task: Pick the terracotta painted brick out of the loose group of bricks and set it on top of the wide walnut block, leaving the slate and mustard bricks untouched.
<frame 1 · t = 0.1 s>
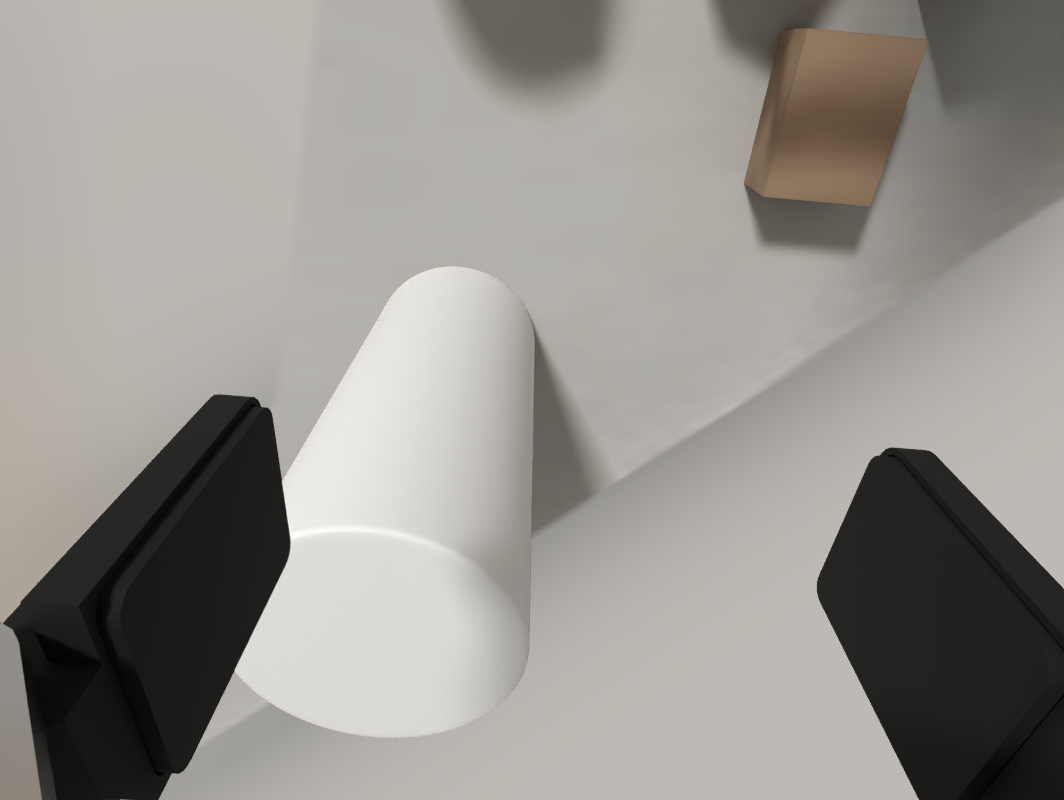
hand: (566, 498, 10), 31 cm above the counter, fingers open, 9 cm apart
tall pillar cylinder: (457, 340, 43), on the counter
walnut block: (811, 115, 36), on the counter
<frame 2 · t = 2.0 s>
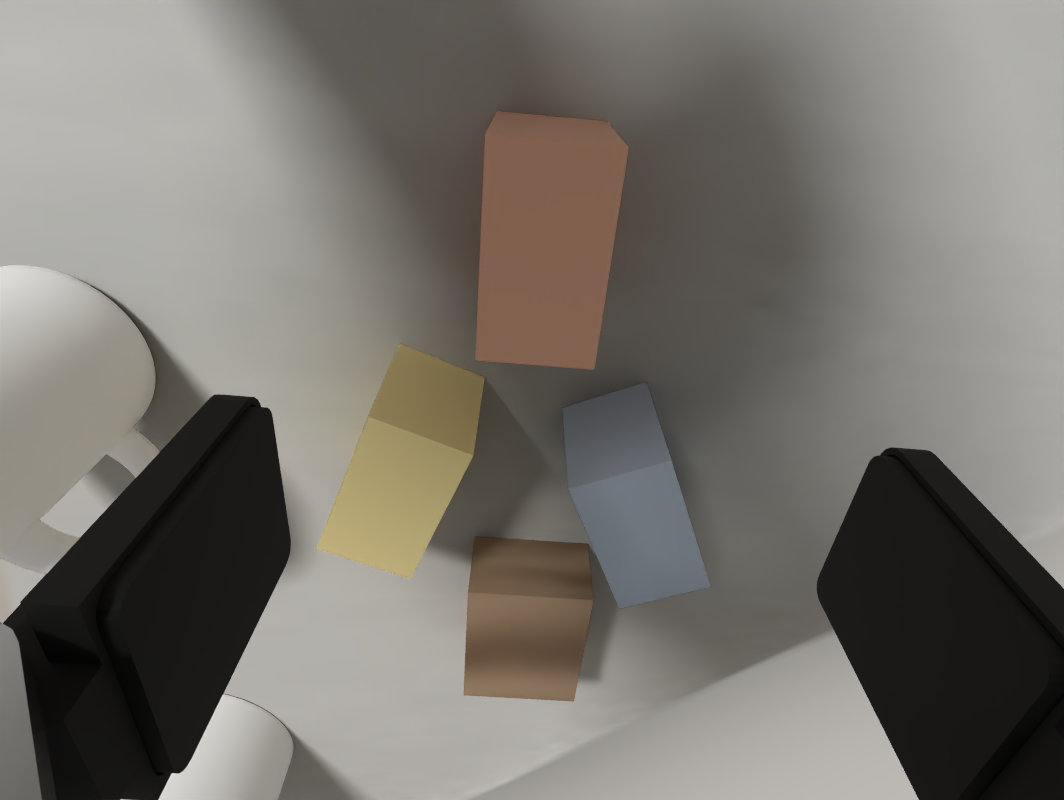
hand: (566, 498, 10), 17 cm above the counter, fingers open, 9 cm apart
mug: (106, 377, 28), on the counter
terracotta brick: (543, 214, 24), on the counter
tall pillar cylinder: (215, 735, 42), on the counter
walnut block: (525, 589, 35), on the counter
mustard brick: (416, 420, 29), on the counter
slate brick: (624, 453, 30), on the counter
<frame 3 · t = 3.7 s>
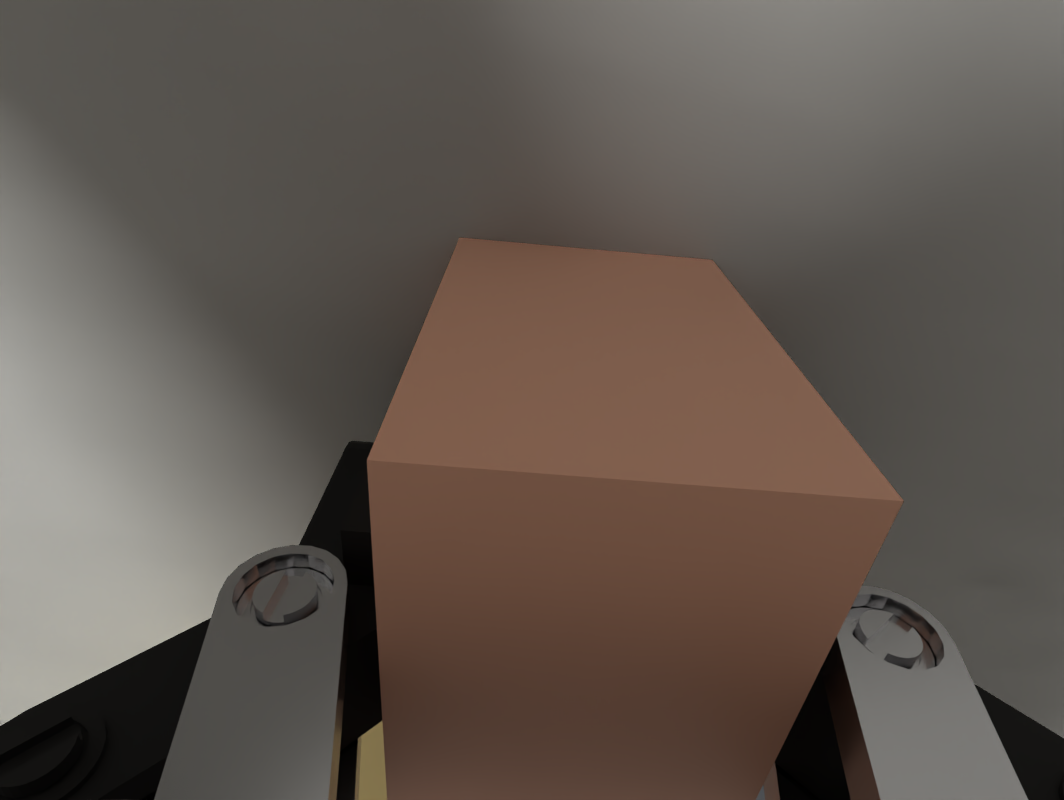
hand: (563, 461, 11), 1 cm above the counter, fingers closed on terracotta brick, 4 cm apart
terracotta brick: (562, 432, 11), on the counter, touching gripper
mustard brick: (332, 733, 16), on the counter
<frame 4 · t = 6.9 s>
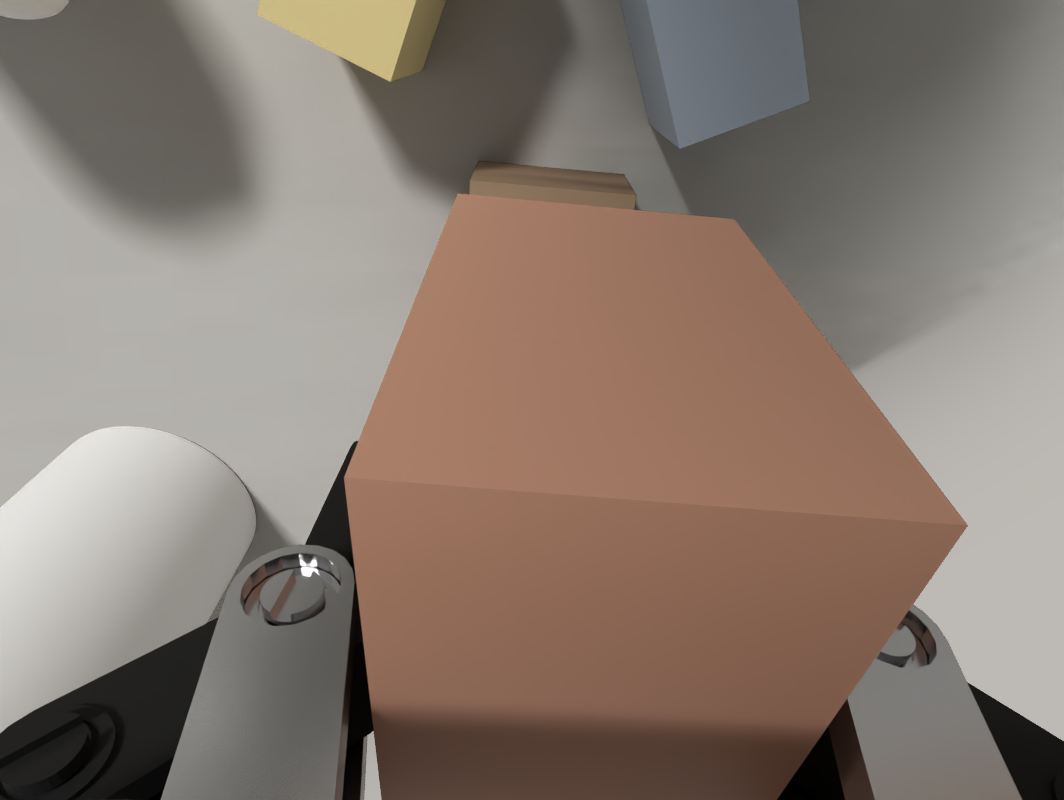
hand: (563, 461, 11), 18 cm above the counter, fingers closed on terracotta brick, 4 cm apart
terracotta brick: (568, 404, 11), point 17 cm above the counter, touching gripper
tall pillar cylinder: (161, 502, 35), on the counter
walnut block: (542, 260, 28), on the counter
slate brick: (679, 6, 22), on the counter
when the fingers open (6 cm above the counter, at t = 9.7 s): terracotta brick drops 1 cm, resting on walnut block.
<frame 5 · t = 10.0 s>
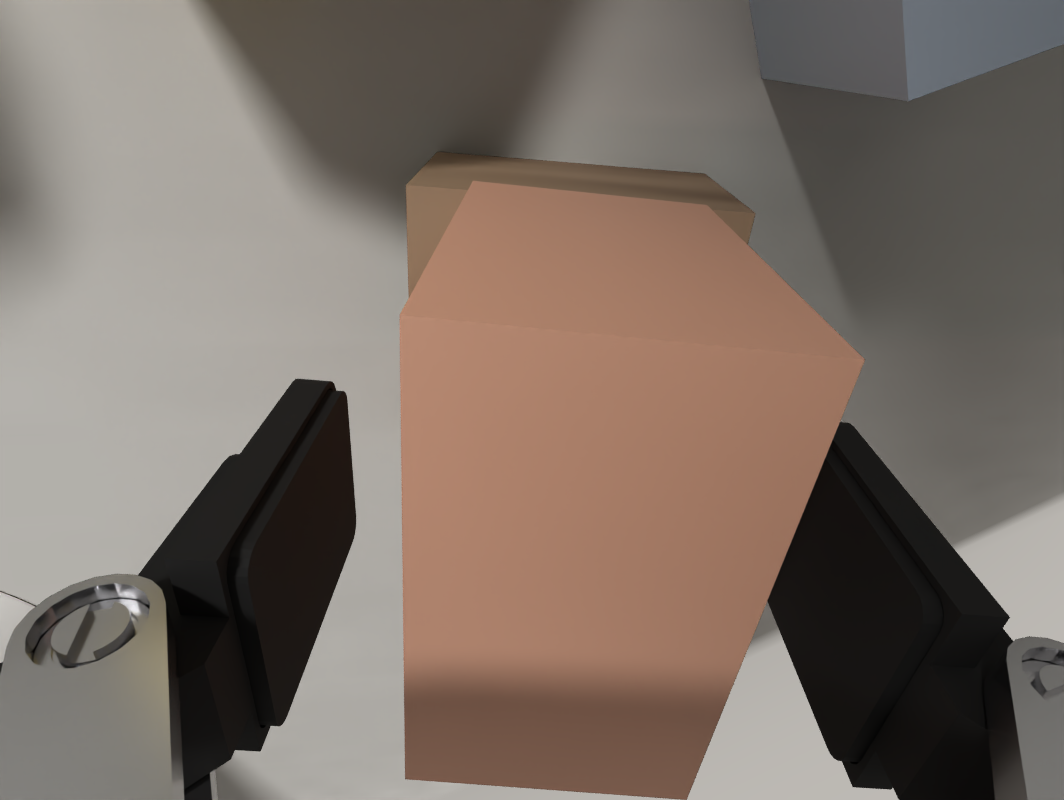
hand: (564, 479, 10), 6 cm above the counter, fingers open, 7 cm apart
terracotta brick: (565, 375, 12), point 4 cm above the counter, touching walnut block
walnut block: (554, 324, 16), on the counter, touching terracotta brick
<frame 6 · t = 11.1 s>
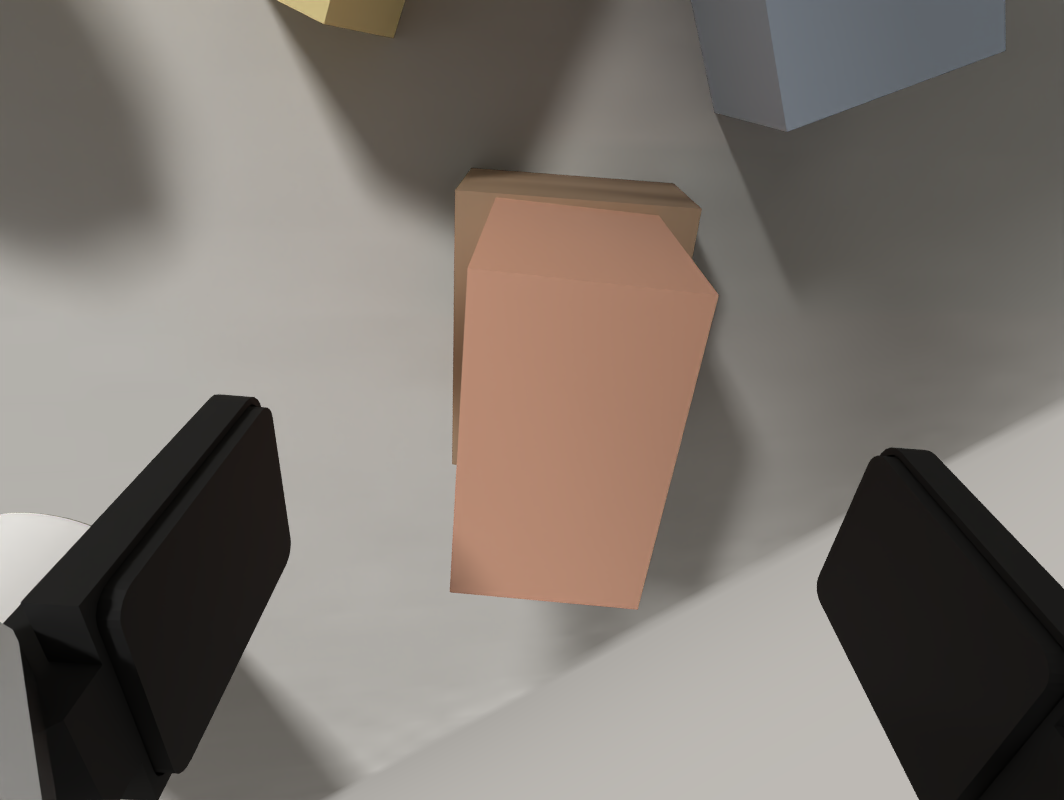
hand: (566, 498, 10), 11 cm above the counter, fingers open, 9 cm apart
terracotta brick: (559, 338, 17), point 4 cm above the counter, touching walnut block
tall pillar cylinder: (73, 604, 27), on the counter
walnut block: (560, 301, 20), on the counter, touching terracotta brick
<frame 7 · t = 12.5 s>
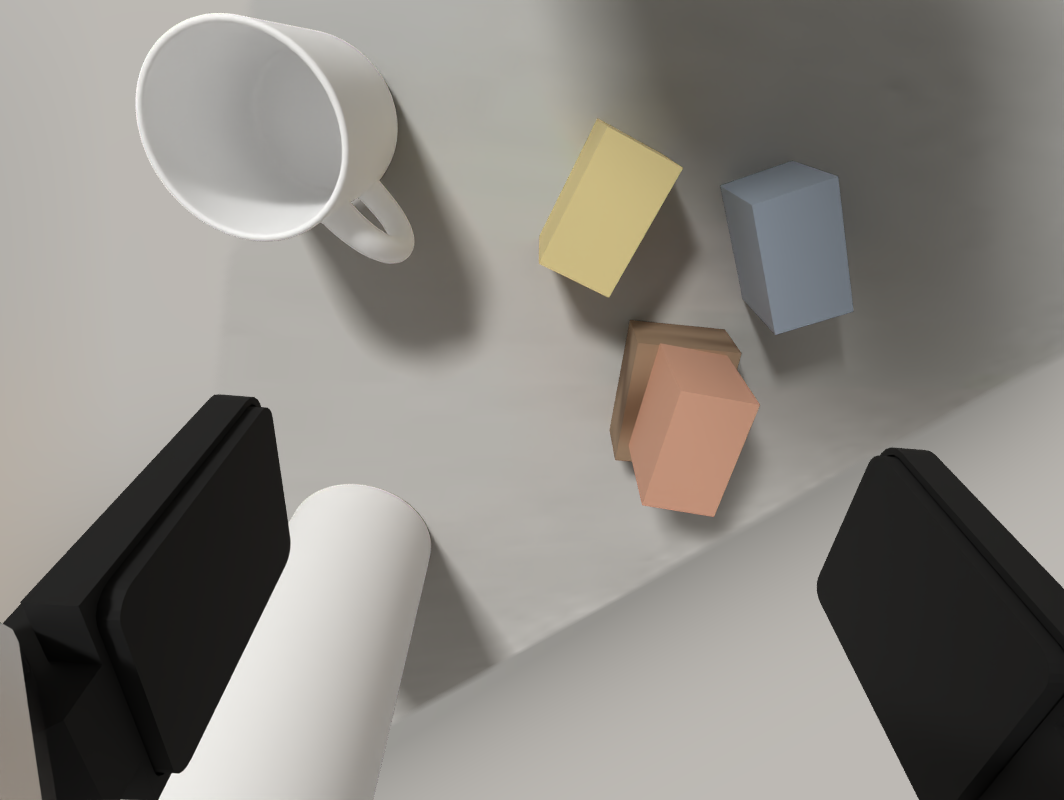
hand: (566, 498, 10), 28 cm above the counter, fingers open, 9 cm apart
mug: (351, 148, 34), on the counter
terracotta brick: (675, 402, 37), point 4 cm above the counter
tall pillar cylinder: (362, 539, 47), on the counter
walnut block: (663, 380, 41), on the counter
mustard brick: (598, 195, 35), on the counter
slate brick: (765, 233, 36), on the counter
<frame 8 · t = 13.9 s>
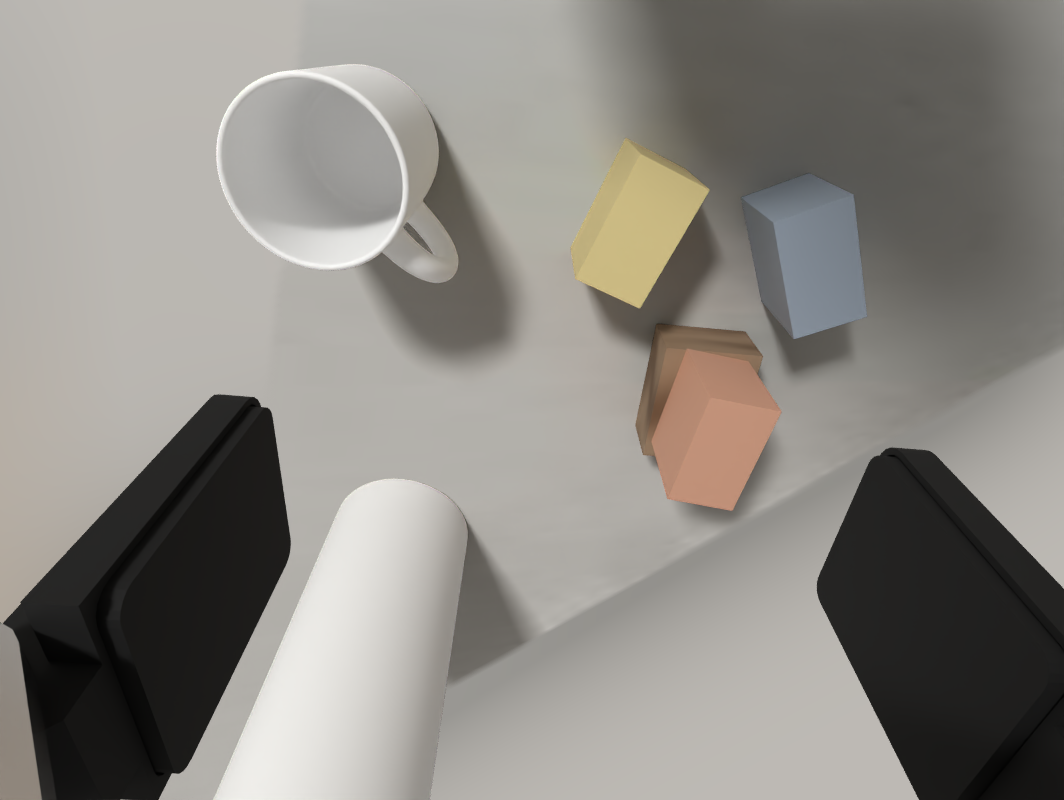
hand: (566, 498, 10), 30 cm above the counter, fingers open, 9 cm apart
mug: (394, 170, 36), on the counter
terracotta brick: (698, 402, 40), point 4 cm above the counter
tall pillar cylinder: (403, 529, 50), on the counter
walnut block: (687, 378, 43), on the counter
mustard brick: (626, 209, 37), on the counter
slate brick: (783, 240, 38), on the counter
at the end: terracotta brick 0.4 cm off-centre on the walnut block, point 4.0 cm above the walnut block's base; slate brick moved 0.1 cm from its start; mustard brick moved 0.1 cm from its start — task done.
